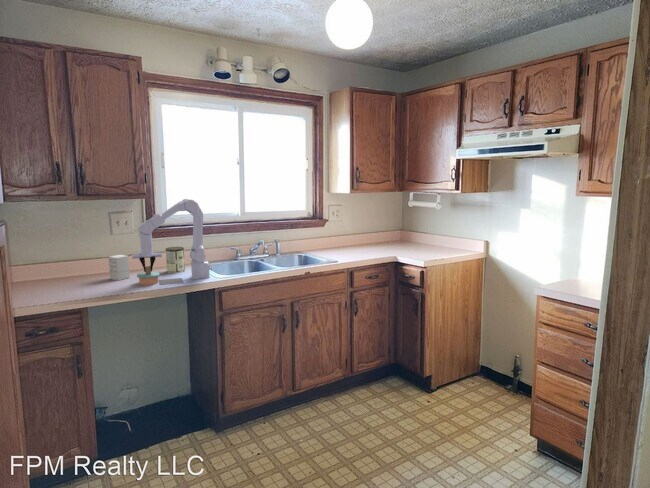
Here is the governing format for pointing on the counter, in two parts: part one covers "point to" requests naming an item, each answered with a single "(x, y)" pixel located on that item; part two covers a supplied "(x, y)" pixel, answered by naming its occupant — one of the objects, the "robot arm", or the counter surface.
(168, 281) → the mat
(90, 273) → the counter surface
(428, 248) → the counter surface
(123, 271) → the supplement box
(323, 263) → the counter surface
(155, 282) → the bowl
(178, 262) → the coffee can
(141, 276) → the lid
